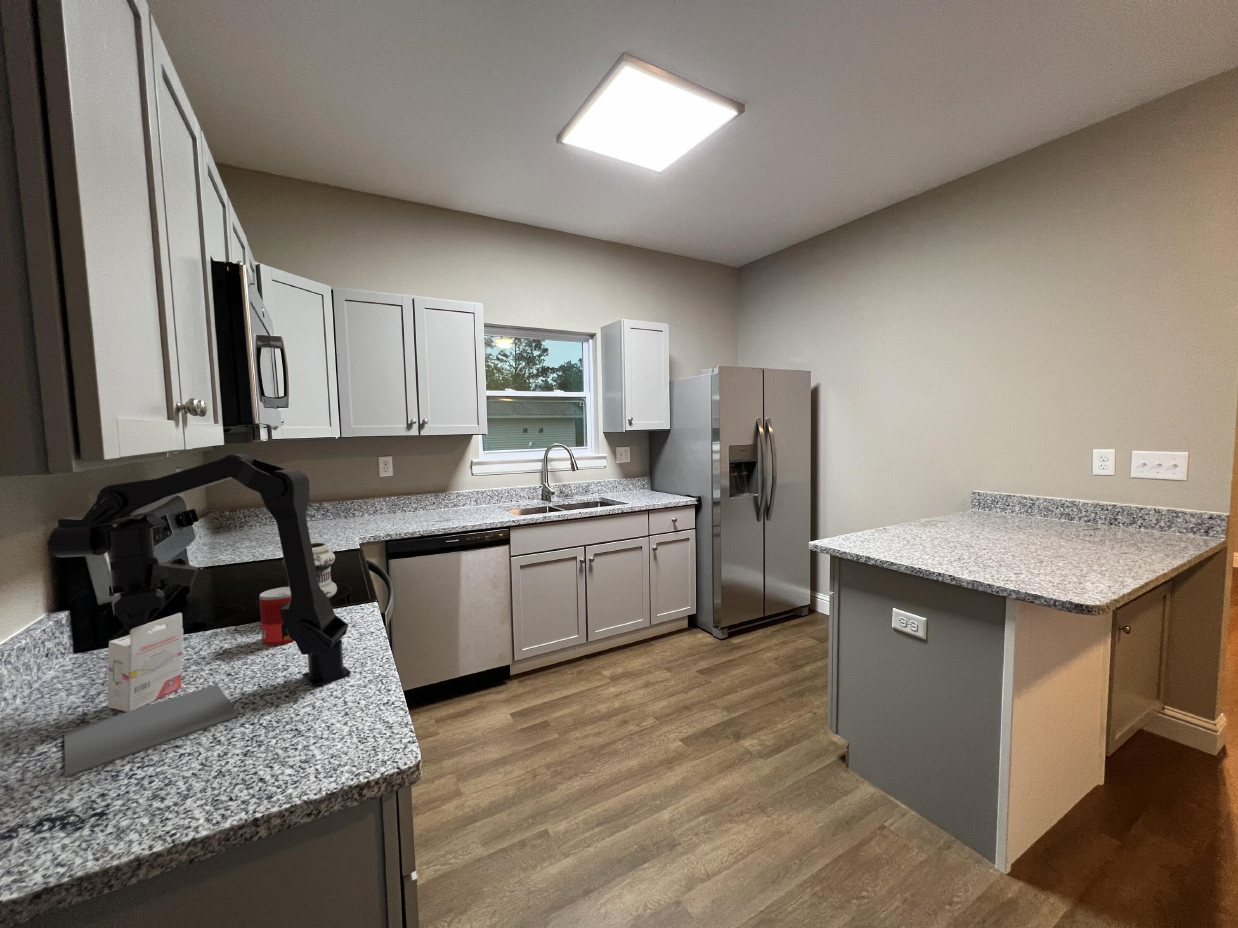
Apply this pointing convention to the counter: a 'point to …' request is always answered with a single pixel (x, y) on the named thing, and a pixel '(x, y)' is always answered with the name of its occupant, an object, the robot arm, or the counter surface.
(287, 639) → the canned food
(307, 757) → the counter surface
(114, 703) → the ink cartridge box
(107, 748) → the mat
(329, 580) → the apothecary jar
